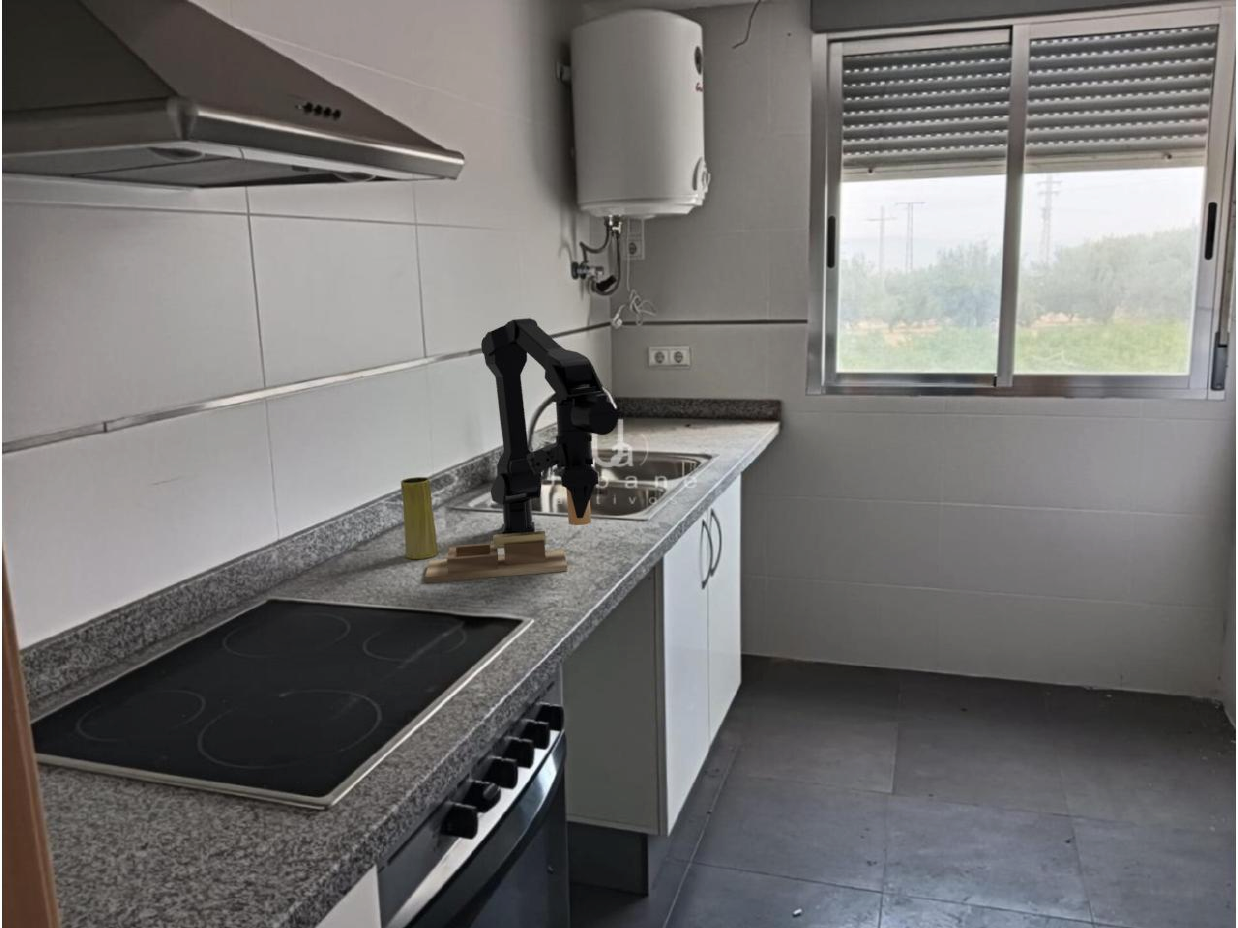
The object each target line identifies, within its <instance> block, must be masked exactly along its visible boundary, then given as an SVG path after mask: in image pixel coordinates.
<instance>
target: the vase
mask: <svg viewBox="0 0 1238 928" xmlns="http://www.w3.org/2000/svg"><path fill="white" fill-rule="evenodd" d="M400 489H401V496H402V503H403V504H402V507H403V509H402V511H403V521H404V542H405V543H404V545H405V557H406V558H407V559H410V560H424V559H430V558H433V557H435V556H438V554H439V553H440V552H439V549H438V542H437V532H436V523H435V516H434V509H433V501H432V491H431V482H430V478H429V477H426V476H425V477H424V476H423V477H422V476H420V477H419V476H418V477H410V478H404V479H402V480H401V481H400Z"/></svg>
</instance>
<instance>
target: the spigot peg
mask: <svg viewBox="0 0 1238 928" xmlns="http://www.w3.org/2000/svg"><path fill="white" fill-rule="evenodd" d="M565 489H566V488H565ZM566 500H567V501H566V504H567V518H568V520H567V521H568V524H569V525H573V526H583V525H588V524H590V523H592V519H591V518H592V517H591V502H590V501H591V499H590V500H589V503H588V505H587V508H586V511H585V514H584V517H583V518H577V516H576V512H575V508H574V504H573V500H572V496H571V492H570V491H569V490H568V489H566Z"/></svg>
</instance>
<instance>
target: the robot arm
mask: <svg viewBox="0 0 1238 928" xmlns="http://www.w3.org/2000/svg"><path fill="white" fill-rule="evenodd" d="M480 346H481V347H480V348H481V352H482V354H483V357H484V362H485V365H486V367H487V368H488V369H489V371H490V372H491V373H492V374H493V376H494V377H495V384H496V394H497V403H498V410H499V418H500V419H499V420H500V429H501V438H502V439H501V440H502V447H503V448H502V449H503V452H502V453H501V456H500V458H499V460H498V462H497V465H496V468H497V469H496V470H497V472H496V473H497V475H496V477H495V480H494V482H493V485H492V487H491V489H490V490H489V491H490V496H491V500H492V502H495V503H496V504H500V505H501V507H502V517H503V519H502V520H503V523H502V524H501V534H512V533H524V532H536V527H535V521H533V514H532V512H533V511H532V501H531V499H532V500H533V499H539V498H541V494H542V485H543V475H542V472H543V471H545V470H547V469H551V468H552V467H554V466H556V468H557V470H561V471H559V472H558V475H559V477H560V483H561V487H563V488H565V489H568V490H569V491H570V492H571V496H572V500H573V504H574V508H575V512H576V516H577V518H583V517H584V514H585V511H586V508H587V505H588V503H589V500H590V501H591V497H592V494H593V492H594V489H595V486H597V485H599V473H598V470H597V469H596V468H595V467H594V466H593V465H594V458H593V454H592V452H593V451H592V441H593V437H592V434H594V435H599V436H606V435H609V434H610V433H612V432H613V431H614V430H615V429H616V427H617V425H618V422H619V413H618V412H617V411H618V410H617V408H616V407H615V406H614V404H612V403H611V402H610V401H608V399H607V397H608V396H607V394H606V393H605V391H604V389H603V382H602V381H601V379H600V378H599V377H598V375H597V372H596V370H595V367H594V365H593V363H592V362H591V359H589V357H588V356H585V355H584V354H582V353H580V352H577V351H574V350H571V349H566V348H564V347H562V346H561V345H560V344H559V343H558V342H557V341H556V340H554V339H553V338H552V337H551V336H550V335H549V334H548V333H547V332H546V331H545V330H543V329H542V328H541V327H540V326H539V325H538V323H537V321H536V320H535V319H533V318H531V317H528V318H518V319H517V318H516V319H515V318H514V319H511V320H509V321H507V322H506V323H505V324H504V325H502V326H500V327H497V328H495V329H493V330H490V331H488V332H487V333H486V334H485V336H484V337H482V340H481V345H480ZM528 355H529V356H530V357H531V358H533V360H535V361H536V362H537V364H539V365H540V366H541V367H542V368H543V370H544V379H545V381H546V382H547V383H548V385H549V386H550V387H551V389H552V390H553V392H554V394H553V395H552V396H551V398H550V401H551V402H552V403H555V406H556V408H555V409H556V411H555V412H556V422H557V426H556V427H557V434H556V435H555V441H554V442H553V443H550V444H548V445H545V446H543V447H540V448H538V449H536V450H534V451H531V450H530V449H529V441H528V431H527V424H526V423H527V422H526V421H527V420H526V414H525V413H526V411H525V404H524V396H523V387H522V376H521V375H522V373H523V371H524V369H525V367H526V364H527V361H528Z"/></svg>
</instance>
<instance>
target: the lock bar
mask: <svg viewBox="0 0 1238 928" xmlns="http://www.w3.org/2000/svg"><path fill="white" fill-rule="evenodd" d="M492 537H493V538H492V540H493V543H494V549H498V550H499V549H504V545H510V544H522V543H535V542H545V546H546V545H547V541H546V540H547V539H546V531H545V530H539V531H538V530H537V531H534V532H522V533H509V534H502V533H501V534H493V535H492Z"/></svg>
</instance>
